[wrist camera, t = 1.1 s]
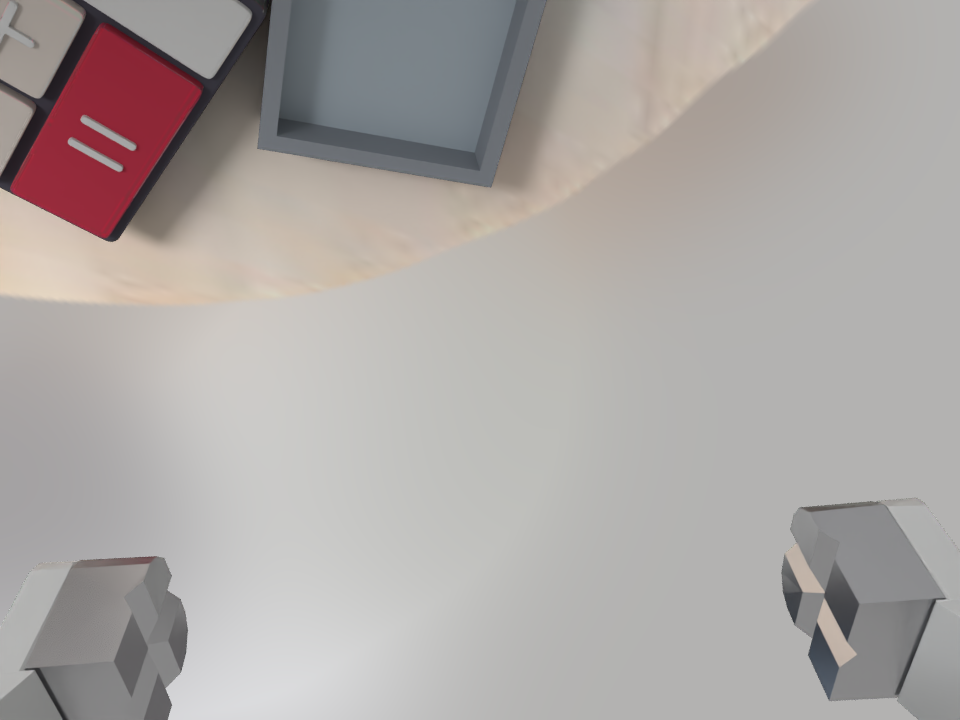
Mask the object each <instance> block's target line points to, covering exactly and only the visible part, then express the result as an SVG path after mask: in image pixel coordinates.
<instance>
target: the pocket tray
mask: <svg viewBox="0 0 960 720" xmlns="http://www.w3.org/2000/svg"><path fill="white" fill-rule="evenodd" d="M546 1H547V0H272V6H271V16H270V27H269V37H268V47H267V57H266V67H265V77H264V88H263V98H262V108H261V118H260V128H259V138H258V148H257V149H263V150H269V151H275V152H281V153H287V154H293V155H299V156H305V157H311V158H317V159H323V160H329V161H335V162H341V163H347V164H353V165H359V166H365V167H371V168H377V169H383V170H389V171H395V172H401V173H407V174H413V175H419V176H425V177H431V178H437V179H443V180H449V181H455V182H461V183H467V184H473V185H479V186H485V187H491V186H492V183H493V180H494V176H495V173H496V169H497V166H498V163H499V159H500V156H501V153H502V149H503V146H504V142H505V139H506V136H507V132H508V129H509V126H510V122H511V119H512V115H513V112H514V109H515V105H516V102H517V98H518V95H519V92H520V88H521V85H522V82H523V78H524V75H525V71H526V68H527V65H528V61H529V58H530V55H531V51H532V48H533V44H534V41H535V38H536V34H537V31H538V28H539V24H540V21H541V17H542V14H543V11H544V7H545V4H546Z"/></svg>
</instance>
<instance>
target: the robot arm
mask: <svg viewBox="0 0 960 720" xmlns="http://www.w3.org/2000/svg"><path fill="white" fill-rule="evenodd" d="M790 530H791V532H792V534H793V536H794V538H795V540H796V542H797V543H796V544H795V545H794V546H793V547H791V548H790V549H789V550H788V551H787V552H786V553H785V555H784V561H783V566H782V585H783V594H784V597H785V601H786V605H787V608H788V611H789V613H790V615H791V617H792V620H793V622H794V625H795V626H797V627H798V628H799V629H800V630H802V631H803V632H805V633H806V634H807V635H809V636H810V637H811V638H812V642H811V646H810V650H809V654H808V656H809V658H810V660H811V662H812V665H813V667H814V669H815V671H816V673H817V675H818V678H819V680H820V682H821V684H822V686H823V688H824V690H825V693H826V695H827V697H828V699H829V701H838V700H858V699H877V698H897V697H898V699H897V701H898V702H899V703H900V704H901V705H902V706H904V707H905V708H906V709H907V710H908V711H909V712H910V713H911V714H912V715H913V716H915V717H916V718H917V719H918V720H960V551H959V549H958V548H957V547H956V545H955V544H954V542H953V541H952V540H951V538H950V537H949V536H948V534H947V533H946V531H945V530H944V529H943V527H942V526H941V524H940V523H939V522H938V520H937V519H936V518H935V516H934V515H933V514H932V512H931V511H930V510H929V508H928V507H927V505H926V504H925V503H924V502H922V501H921V500H919V499H917V498H908V499H896V500H885V501H877V502H871V501H870V502H859V503H847V504H835V505H824V506H812V507H801V508H799V509H798V510H797V511H796V513H795V514H794V516H793V520H792V524H791V528H790ZM171 576H172V575H171V573H170V571H169V568H168V566H167V564H166V561H165V559H164V558H161V557H157V556H154V557H135V558H114V559H96V560H95V559H94V560H80V561H69V562H49V563H40V564H38V565H37V566H36V567H35V568H33V570H31V571H30V572H29V573H28V575H27V577H26V579H25V581H24V583H23V585H22V587H21V589H20V591H19V593H18V594H17V596H16V598H15V600H14V602H13V604H12V606H11V608H10V610H9V612H8V614H7V616H6V618H5V619H4V621H3V623H2V625H1V627H0V720H168V717H169V713H170V709H171V706H172V704H171V701H170V699H169V696H168V694H167V692H166V689H165V688H166V687H167V686H168V685H169V684H170V683H171V682H172V681H173V680H174V679H175V678H176V677H177V676H178V675H179V674H180V673H181V670H182V667H183V662H184V659H185V655H186V647H187V633H188V628H187V621H186V614H185V611H184V607H183V605H182V602H181V599H179V598H178V597H176V596H175V595H173V594H172V593H170V592H169V591H167V589H168V586H169V582H170V579H171Z"/></svg>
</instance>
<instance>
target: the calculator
mask: <svg viewBox="0 0 960 720" xmlns="http://www.w3.org/2000/svg"><path fill="white" fill-rule="evenodd" d="M268 4H269V0H0V188H2V189H4V190H6V191H8V192H10V193H12V194H14V195H16V196H18V197H20V198H22V199H24V200H26V201H28V202H30V203H32V204H34V205H36V206H38V207H40V208H42V209H44V210H46V211H48V212H50V213H52V214H54V215H56V216H58V217H60V218H62V219H64V220H66V221H68V222H70V223H72V224H74V225H76V226H78V227H80V228H82V229H84V230H86V231H88V232H90V233H92V234H94V235H96V236H98V237H100V238H102V239H104V240H106V241H109V242H113V241H116V240H118V239H119V237H120V236H121V234H122V233H123V231H124V230H125V228H126V227H127V225H128V224H129V222H130V221H131V219H132V218H133V216H134V215H135V213H136V212H137V210H138V209H139V207H140V206H141V204H142V203H143V201H144V200H145V198H146V197H147V195H148V194H149V192H150V191H151V189H152V188H153V186H154V185H155V183H156V182H157V180H158V179H159V177H160V176H161V174H162V173H163V171H164V170H165V168H166V167H167V165H168V163H169V162H170V160H171V159H172V157H173V156H174V154H175V153H176V151H177V150H178V148H179V147H180V145H181V144H182V142H183V141H184V139H185V138H186V136H187V135H188V133H189V132H190V130H191V129H192V127H193V126H194V124H195V123H196V121H197V120H198V118H199V117H200V115H201V114H202V112H203V111H204V109H205V108H206V106H207V105H208V103H209V102H210V100H211V99H212V97H213V96H214V94H215V93H216V91H217V90H218V88H219V87H220V85H221V84H222V82H223V80H224V79H225V77H226V76H227V74H228V73H229V71H230V70H231V68H232V67H233V65H234V64H235V62H236V61H237V59H238V58H239V56H240V55H241V53H242V52H243V50H244V49H245V47H246V46H247V44H248V43H249V41H250V40H251V38H252V37H253V35H254V34H255V32H256V31H257V29H258V28H259V26H260V25H261V23H262V21H263V20H264V18H265V16H266V13H267V8H268Z"/></svg>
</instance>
